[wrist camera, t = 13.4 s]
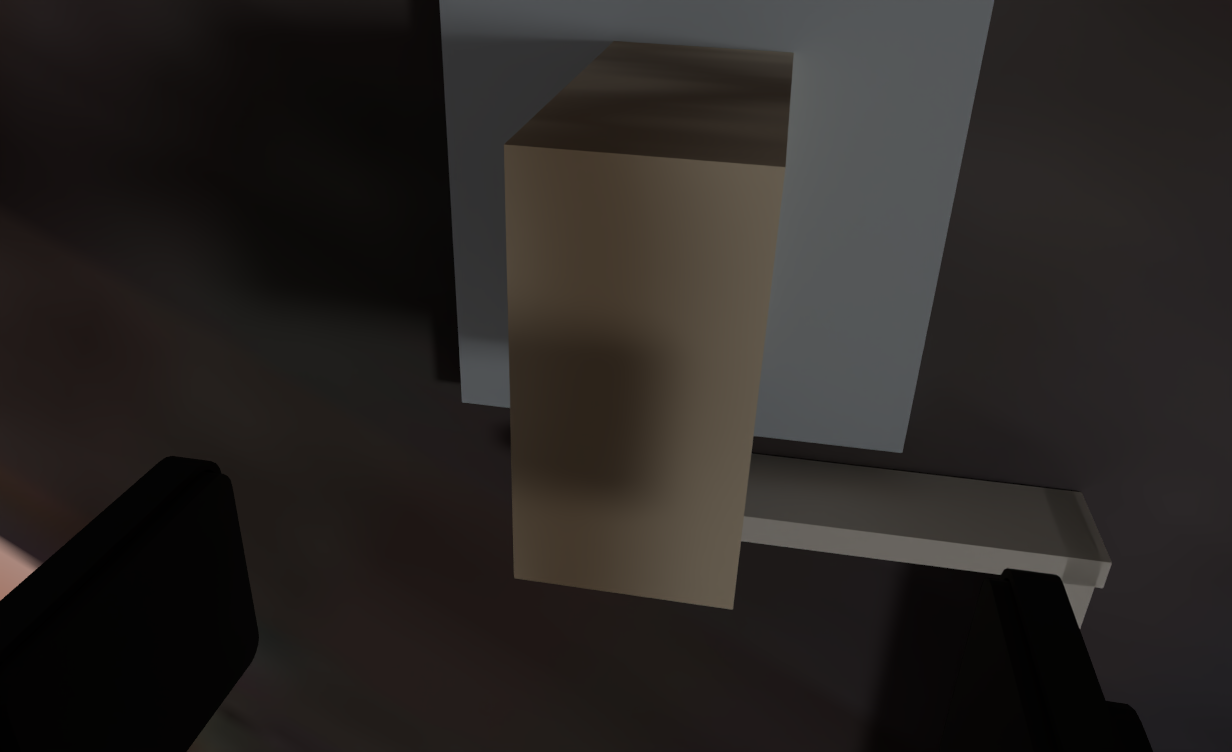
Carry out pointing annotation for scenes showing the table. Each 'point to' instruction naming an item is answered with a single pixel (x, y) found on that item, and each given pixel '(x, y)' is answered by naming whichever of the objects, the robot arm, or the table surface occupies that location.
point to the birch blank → (642, 315)
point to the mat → (812, 191)
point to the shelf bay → (926, 521)
